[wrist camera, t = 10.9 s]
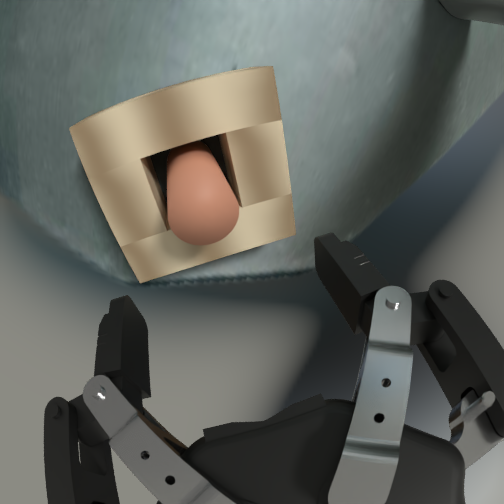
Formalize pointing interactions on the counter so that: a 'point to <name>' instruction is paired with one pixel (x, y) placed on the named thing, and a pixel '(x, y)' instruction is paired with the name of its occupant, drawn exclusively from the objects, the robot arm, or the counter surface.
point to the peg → (198, 196)
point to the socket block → (182, 132)
